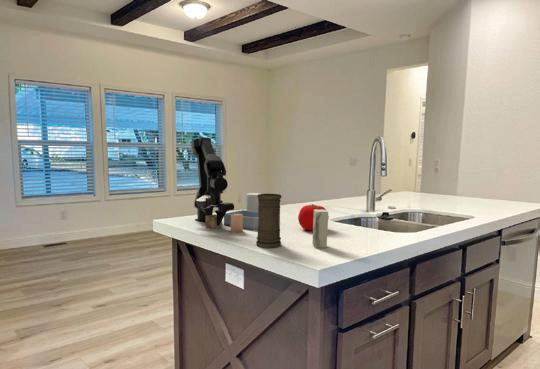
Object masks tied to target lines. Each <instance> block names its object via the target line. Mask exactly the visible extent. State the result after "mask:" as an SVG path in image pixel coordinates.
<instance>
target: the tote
mask: <svg viewBox="0 0 540 369" xmlns="http://www.w3.org/2000/svg"><path fill="white" fill-rule="evenodd" d="M231 214H243V229H245V230H253V231H255V230H258V212H254V211H247V210H246V209H242V210H236V211H230V212H226V214H225V215H224V217H223V225H224V226H229V227H231Z"/></svg>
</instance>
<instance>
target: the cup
mask: <svg viewBox="0 0 540 369" xmlns="http://www.w3.org/2000/svg"><path fill="white" fill-rule="evenodd" d="M258 194H262V193H261V192H258V193H257V192H249V193H248V192H247V193H246V194H245V195H246V196H245V197H246V198H245V200H246V201H245V203H246V204H245V205H246V206H245V207H246V208H245V210H247V211H254V212H258V206H259V202H258V199H259V198H258V197H257V196H258Z"/></svg>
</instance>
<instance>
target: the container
mask: <svg viewBox="0 0 540 369" xmlns="http://www.w3.org/2000/svg"><path fill="white" fill-rule="evenodd" d="M257 197H258V198H259V199H258V202H259V206H258V229H257V237H256V243H255V244H256V246H257V247H258V248H259V247H260V248H263V249H264V248H265V249H273V248H275V249H276V248H278V247H280V246H282V241H281V240H282V238H281V229H280V226H281V222H280V221H281V199H282V194H279V193H261V194H258V196H257Z"/></svg>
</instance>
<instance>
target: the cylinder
mask: <svg viewBox="0 0 540 369" xmlns="http://www.w3.org/2000/svg"><path fill="white" fill-rule="evenodd" d="M243 231H244V228H243V214H231V226H230V233H232V234H241V233H243Z"/></svg>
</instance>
